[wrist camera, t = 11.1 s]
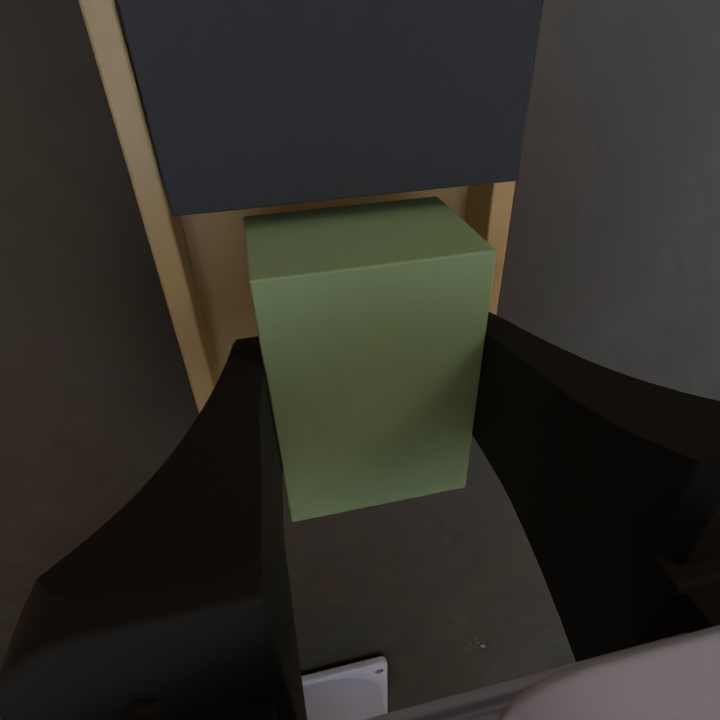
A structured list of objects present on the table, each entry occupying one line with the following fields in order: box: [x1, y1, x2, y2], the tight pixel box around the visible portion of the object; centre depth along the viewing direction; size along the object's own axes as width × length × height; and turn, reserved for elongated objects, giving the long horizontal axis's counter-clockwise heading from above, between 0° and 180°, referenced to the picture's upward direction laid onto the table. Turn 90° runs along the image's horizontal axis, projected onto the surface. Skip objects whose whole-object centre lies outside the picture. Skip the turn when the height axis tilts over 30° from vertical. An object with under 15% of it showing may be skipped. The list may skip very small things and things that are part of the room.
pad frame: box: [78, 0, 516, 413], centre depth 13 cm, size 16×9×2 cm, turn 2°
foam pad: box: [243, 196, 496, 522], centre depth 12 cm, size 6×4×3 cm
